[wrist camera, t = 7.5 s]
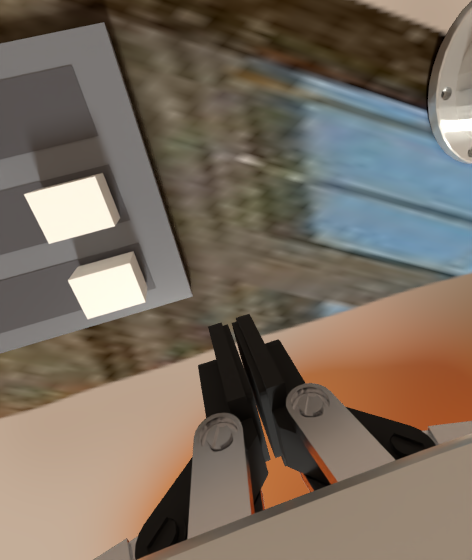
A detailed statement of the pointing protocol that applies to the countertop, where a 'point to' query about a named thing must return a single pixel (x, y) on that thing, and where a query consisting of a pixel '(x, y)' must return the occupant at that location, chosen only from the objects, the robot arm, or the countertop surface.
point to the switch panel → (66, 167)
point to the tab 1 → (74, 208)
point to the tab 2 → (109, 285)
